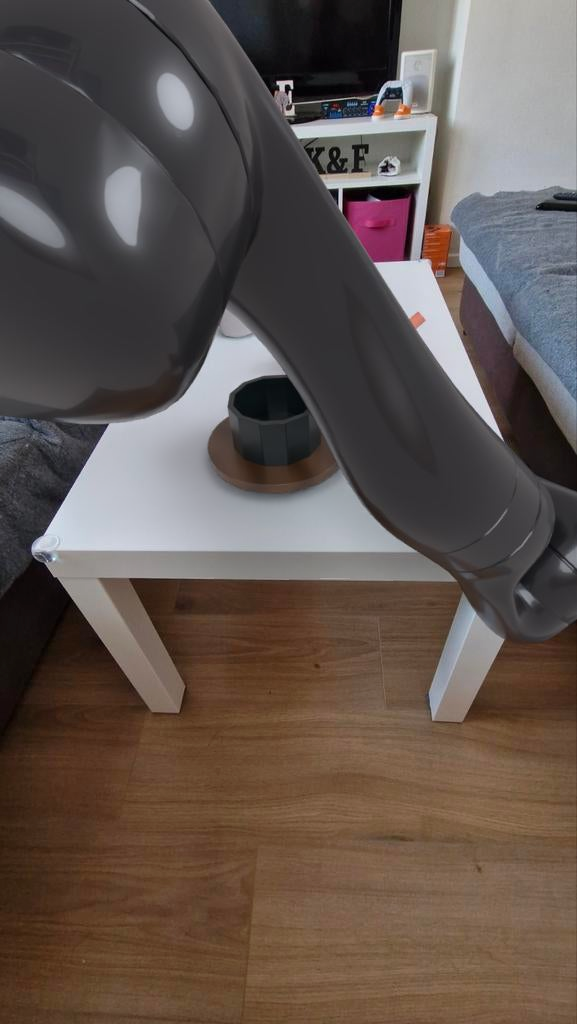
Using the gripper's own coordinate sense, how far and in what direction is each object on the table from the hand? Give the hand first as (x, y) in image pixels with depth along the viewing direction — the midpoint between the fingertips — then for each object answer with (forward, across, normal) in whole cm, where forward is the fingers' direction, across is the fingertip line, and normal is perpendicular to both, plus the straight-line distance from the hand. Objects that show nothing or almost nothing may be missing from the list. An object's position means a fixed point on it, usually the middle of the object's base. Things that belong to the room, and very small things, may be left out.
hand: (334, 352), depth 55 cm
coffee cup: (+40, +2, +13) cm, 43 cm away
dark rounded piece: (+2, +7, +13) cm, 15 cm away
